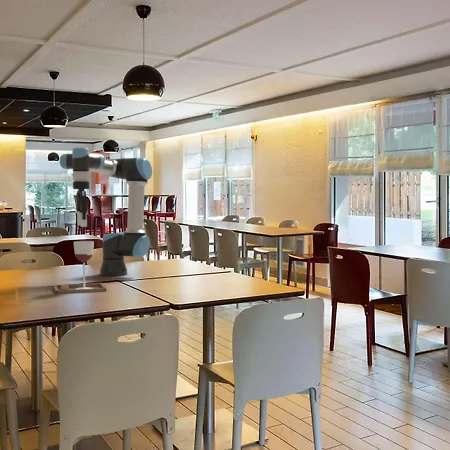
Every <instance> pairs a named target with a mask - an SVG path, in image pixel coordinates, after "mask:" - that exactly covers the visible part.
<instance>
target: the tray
mask: <svg viewBox="0 0 450 450" xmlns="http://www.w3.org/2000/svg"><path fill="white" fill-rule="evenodd" d="M62 285H63V284H54V285H53V289H54V292H55V295H63V294H81V293H83V294H84V293H100V292H101V293H102V292H104V293H105V292H107V287H106V286H105V285H104V284H103V283H102V282H96V283H95V282H93V283H91V282H90V283H85V287H88V288H93V289H76V288H82V287H83V283H72V284H67V285H68V287H69V289H68V290H61V286H62Z"/></svg>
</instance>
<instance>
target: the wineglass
mask: <svg viewBox="0 0 450 450" xmlns="http://www.w3.org/2000/svg"><path fill="white" fill-rule="evenodd" d="M94 243H95V241H93V240H79V241H78V240H77V241H73V249H74V254H75V255H74V256H75V257H76V259H77V260H79V262H81V263H82V271H83V274H82V276H83V277H82V280H83V281H82V282H83V283H82V284H83V287H82V288H76V289H93V288H88V287H85V284H86V263H87V262H88V261H90V260H91V258H92V257H93V254H94V246H95V245H94Z"/></svg>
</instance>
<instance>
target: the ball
mask: <svg viewBox="0 0 450 450" xmlns="http://www.w3.org/2000/svg"><path fill="white" fill-rule="evenodd" d="M61 285H62V286H61V290H68V289H69V287H68V285H69V284H65V283H64V284H63V283H62V284H61Z"/></svg>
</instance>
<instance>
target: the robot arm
mask: <svg viewBox="0 0 450 450" xmlns="http://www.w3.org/2000/svg"><path fill="white" fill-rule="evenodd" d="M71 151H72V153H63V154H62V155H61V156H60V157H59V165H60V167H61V169H63V170H72V173H71V176H72V180H73V182H72V188H73V189H74V190H76V216H77V217H76V221H77V223H76V224H77V226H80V227H81V228H84V227H85V228H87V227H88V214H87V213H88V203H87V192H86V191H85V190H89V189H90V182H89V181H90V172H91V173H96V174H102V175H104V176H106V177H111V178H113V179H114V178H115V179H118V180H119V179H121V180H125V182H126V184H127V185H128V199H127V202H128V203H127V225H126V226H127V229H125V230H124V231H123V232H116V233H115V232H114V233H107V234H104V235H103V236H102V241H101V242H102V262H101V265H100V268H99V276H103V277H119V276H126V275H128V268H127V266H126V261H125V257H130V258H133V257H134V258H141V257H142V258H143V257H145V256H146V255H147V253H148V252H149V249H150V246H151V245H150V244H151V243H150V242H151V241H150V238H149V237H148V236H147V235H146V233H147V232H146V231H145V230H144V214H145V213H144V211H145V186H146V185H147V184H148V180H150V179H151V178H152V176H153V167H152V164H151V162H150V161H149V160H148V159H147V158H144V157H130V158H129V157H127V158H126V157H125V158H106V157H105V156H104V155H103V154H101V153H98V152H90V151H89V148H88V147H74V148H72V150H71Z"/></svg>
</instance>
